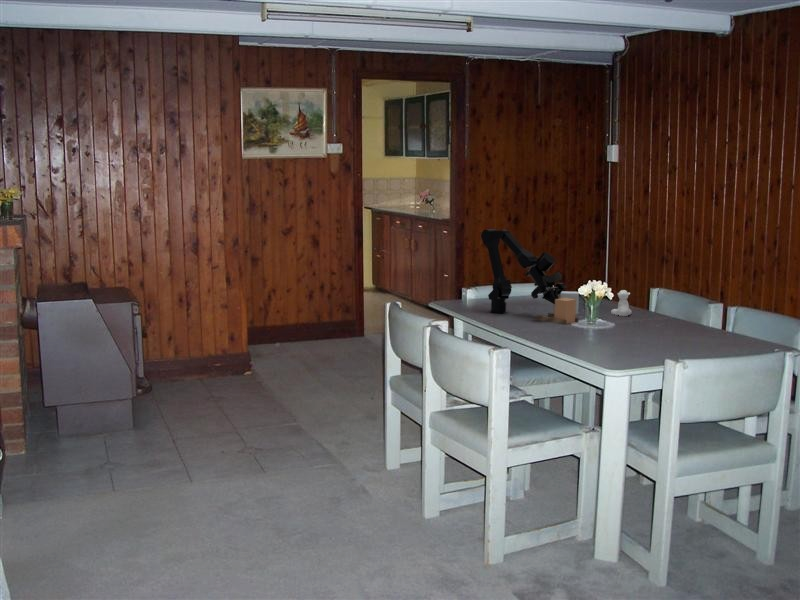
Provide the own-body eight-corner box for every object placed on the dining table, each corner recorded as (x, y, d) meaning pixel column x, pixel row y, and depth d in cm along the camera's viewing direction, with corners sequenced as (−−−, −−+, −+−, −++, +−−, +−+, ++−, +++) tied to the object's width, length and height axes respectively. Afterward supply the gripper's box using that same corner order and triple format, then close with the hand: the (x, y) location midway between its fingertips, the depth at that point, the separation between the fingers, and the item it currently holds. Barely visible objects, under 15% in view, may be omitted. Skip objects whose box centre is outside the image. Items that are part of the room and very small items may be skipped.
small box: (576, 313, 408) (577, 291, 406) (578, 315, 402) (579, 293, 400) (559, 313, 408) (560, 291, 407) (560, 315, 403) (561, 292, 401)
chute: (535, 321, 387) (535, 315, 386) (549, 318, 393) (549, 312, 393) (568, 327, 374) (569, 321, 373) (582, 324, 380) (582, 318, 380)
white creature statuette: (631, 313, 409) (632, 288, 407) (635, 317, 401) (636, 291, 399) (610, 313, 409) (611, 288, 407) (614, 316, 401) (615, 291, 399)
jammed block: (554, 321, 381) (555, 299, 379) (563, 320, 386) (564, 297, 384) (565, 323, 377) (566, 301, 375) (575, 322, 381) (576, 299, 380)
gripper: (537, 268, 377) (557, 296, 371) (563, 264, 390) (583, 292, 384) (522, 284, 384) (541, 312, 378) (548, 280, 397) (567, 307, 391)
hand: (559, 305), depth 383 cm, fingers closed, pressing on jammed block
